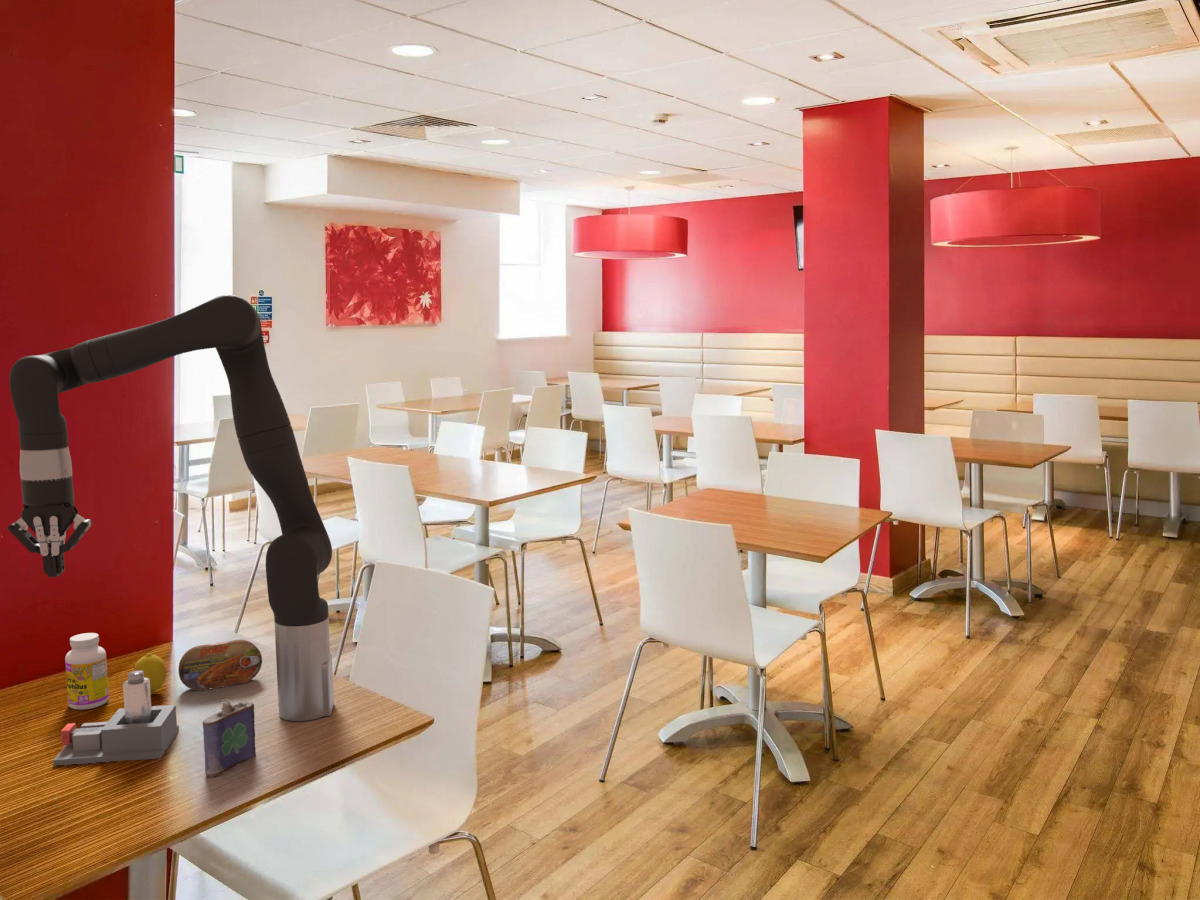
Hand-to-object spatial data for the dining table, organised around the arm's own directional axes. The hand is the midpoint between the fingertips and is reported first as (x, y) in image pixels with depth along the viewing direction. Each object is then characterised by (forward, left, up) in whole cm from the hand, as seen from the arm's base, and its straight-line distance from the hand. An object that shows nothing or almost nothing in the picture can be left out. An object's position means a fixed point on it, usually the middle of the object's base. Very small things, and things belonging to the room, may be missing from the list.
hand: (54, 575), depth 163 cm
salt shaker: (-15, +10, -26) cm, 32 cm away
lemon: (-10, -14, -27) cm, 32 cm away
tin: (-22, -17, -27) cm, 39 cm away
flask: (-31, +20, -27) cm, 46 cm away
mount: (-12, +10, -27) cm, 31 cm away
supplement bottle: (0, -11, -27) cm, 29 cm away
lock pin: (-8, +10, -25) cm, 28 cm away
